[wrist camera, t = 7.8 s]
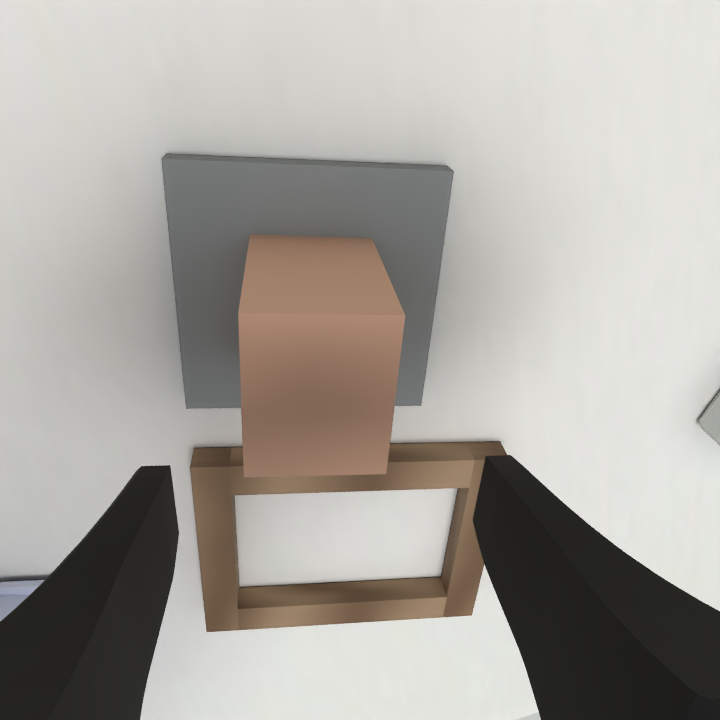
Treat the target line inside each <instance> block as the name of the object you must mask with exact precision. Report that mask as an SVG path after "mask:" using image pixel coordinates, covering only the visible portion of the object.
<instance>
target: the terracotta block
mask: <svg viewBox="0 0 720 720" xmlns="http://www.w3.org/2000/svg"><path fill="white" fill-rule="evenodd" d="M238 322H239V351H240V381H241V410H242V439H243V469H244V477H285V476H328V475H371V474H386V472H387V463H388V455H389V447H390V439H391V430H392V422H393V414H394V405H395V397H396V389H397V380H398V372H399V364H400V356H401V347H402V339H403V331H404V322H405V314H404V311H403V309H402V307H401V304H400V302H399V300H398V297H397V295H396V293H395V290H394V288H393V286H392V283H391V281H390V279H389V276H388V274H387V272H386V269H385V267H384V265H383V263H382V260H381V258H380V256H379V253H378V251H377V249H376V246H375V244H374V242H373V239H372V238H346V237H316V236H286V235H255V234H250V237H249V244H248V251H247V257H246V264H245V271H244V277H243V284H242V291H241V298H240V304H239V311H238Z"/></svg>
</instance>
